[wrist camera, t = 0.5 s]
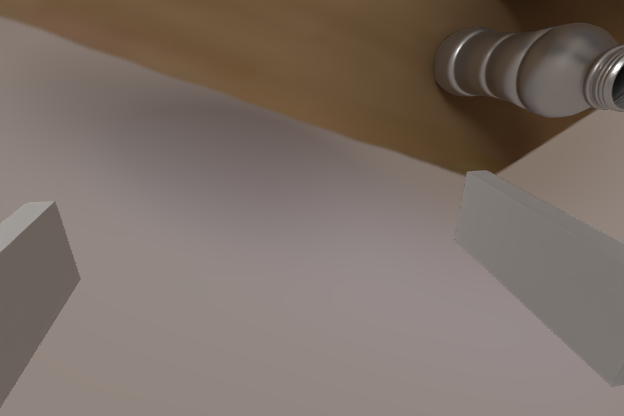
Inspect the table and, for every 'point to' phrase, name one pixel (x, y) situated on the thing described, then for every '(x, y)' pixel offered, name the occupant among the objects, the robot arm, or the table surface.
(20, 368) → the robot arm
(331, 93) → the table surface
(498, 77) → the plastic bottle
